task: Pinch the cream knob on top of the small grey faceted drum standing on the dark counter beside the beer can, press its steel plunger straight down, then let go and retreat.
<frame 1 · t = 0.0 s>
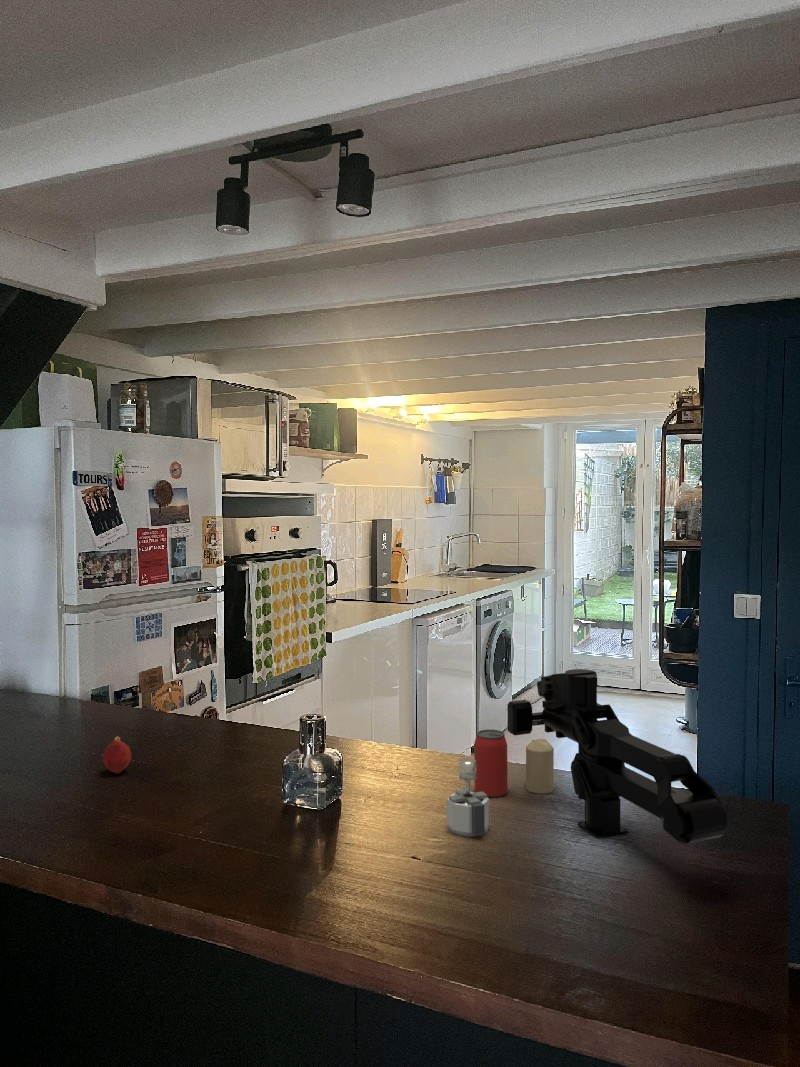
hand: (531, 704, 169), 17 cm above the countertop, tool horizontal, fingers open, 9 cm apart
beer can: (490, 793, 164), on the countertop
grey faceted drum: (468, 828, 146), on the countertop
plunger: (467, 782, 146), point 8 cm above the countertop, slide at 0.0 cm
candle: (539, 790, 166), on the countertop
onion: (117, 774, 178), on the countertop
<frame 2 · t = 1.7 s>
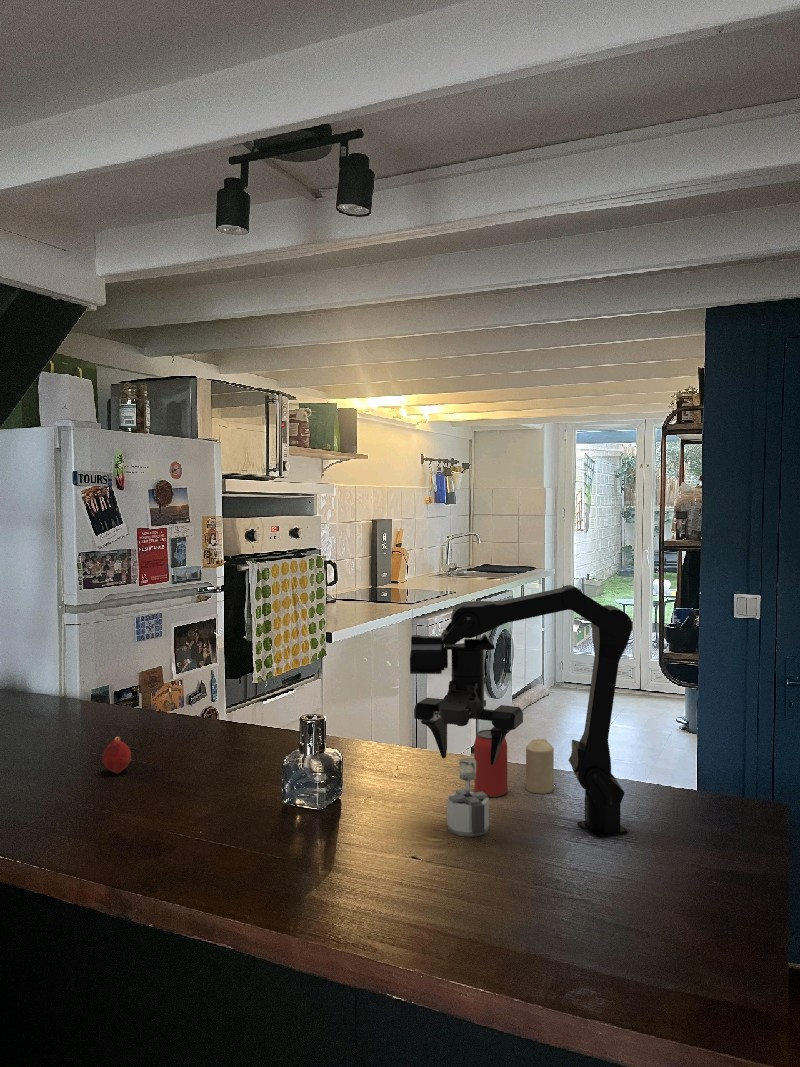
hand: (468, 761, 146), 12 cm above the countertop, tool pointing down, fingers open, 9 cm apart
nothing on the countertop moved.
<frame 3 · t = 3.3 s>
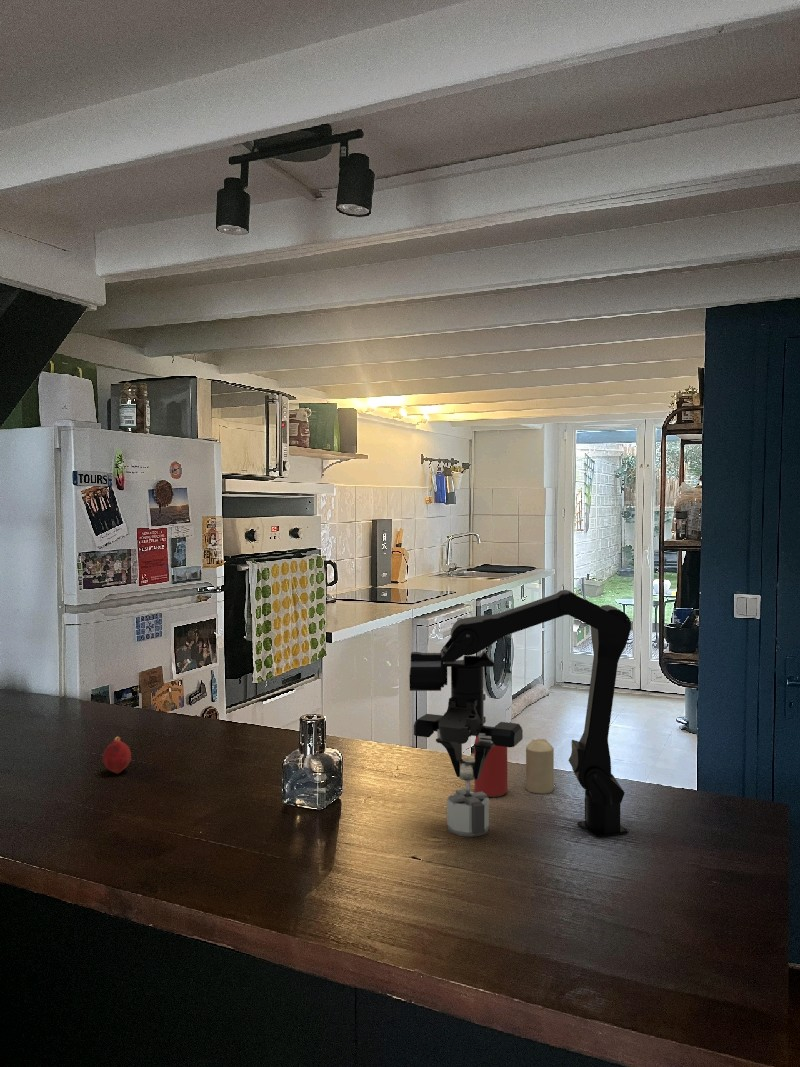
hand: (467, 777, 146), 9 cm above the countertop, tool pointing down, fingers closed on plunger, 3 cm apart
plunger: (467, 782, 146), point 8 cm above the countertop, slide at 0.0 cm, touching gripper
everything else where it was.
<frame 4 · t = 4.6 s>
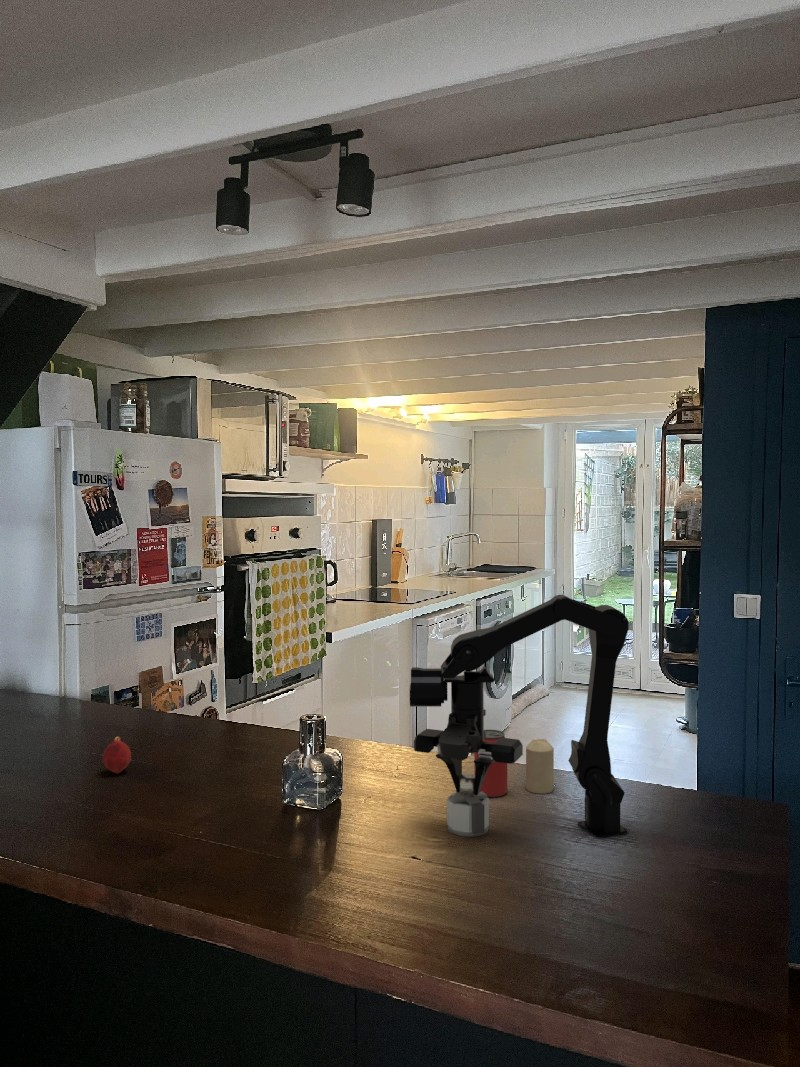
hand: (467, 793, 146), 6 cm above the countertop, tool pointing down, fingers closed on plunger, 3 cm apart
plunger: (467, 798, 146), point 6 cm above the countertop, slide at 2.8 cm, touching gripper
everything else where it was.
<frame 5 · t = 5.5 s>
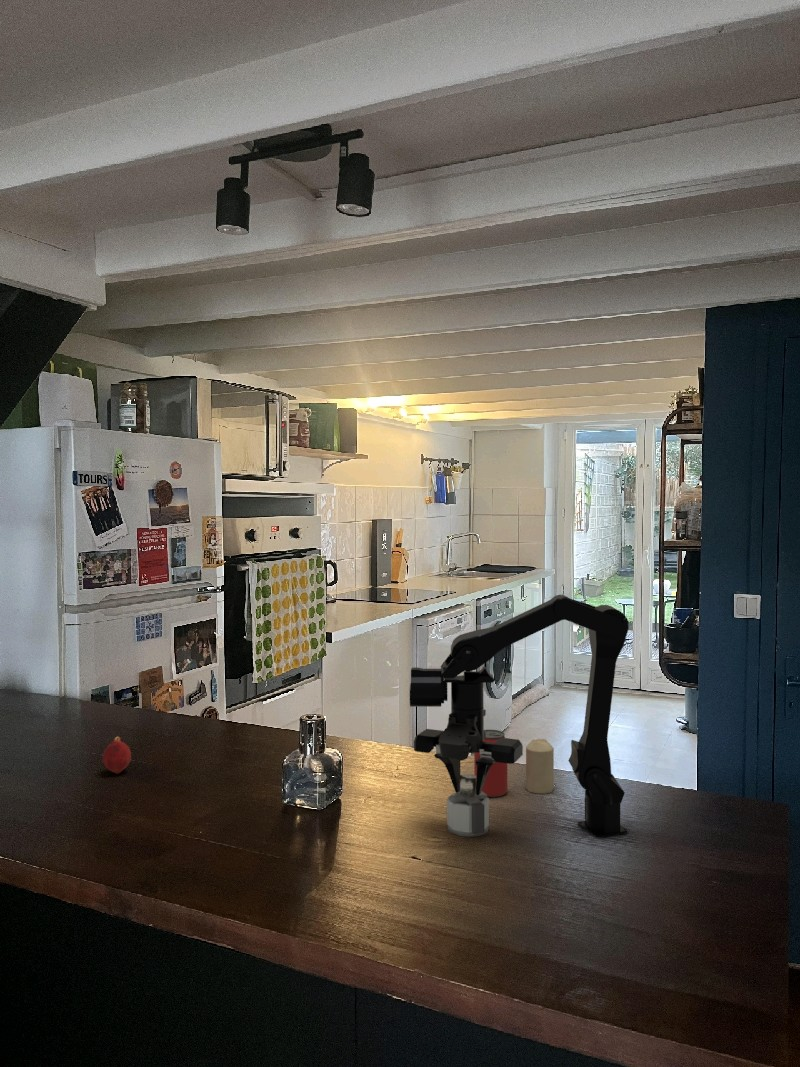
hand: (467, 793, 146), 6 cm above the countertop, tool pointing down, fingers open, 4 cm apart
plunger: (467, 798, 146), point 6 cm above the countertop, slide at 2.8 cm
everything else where it was.
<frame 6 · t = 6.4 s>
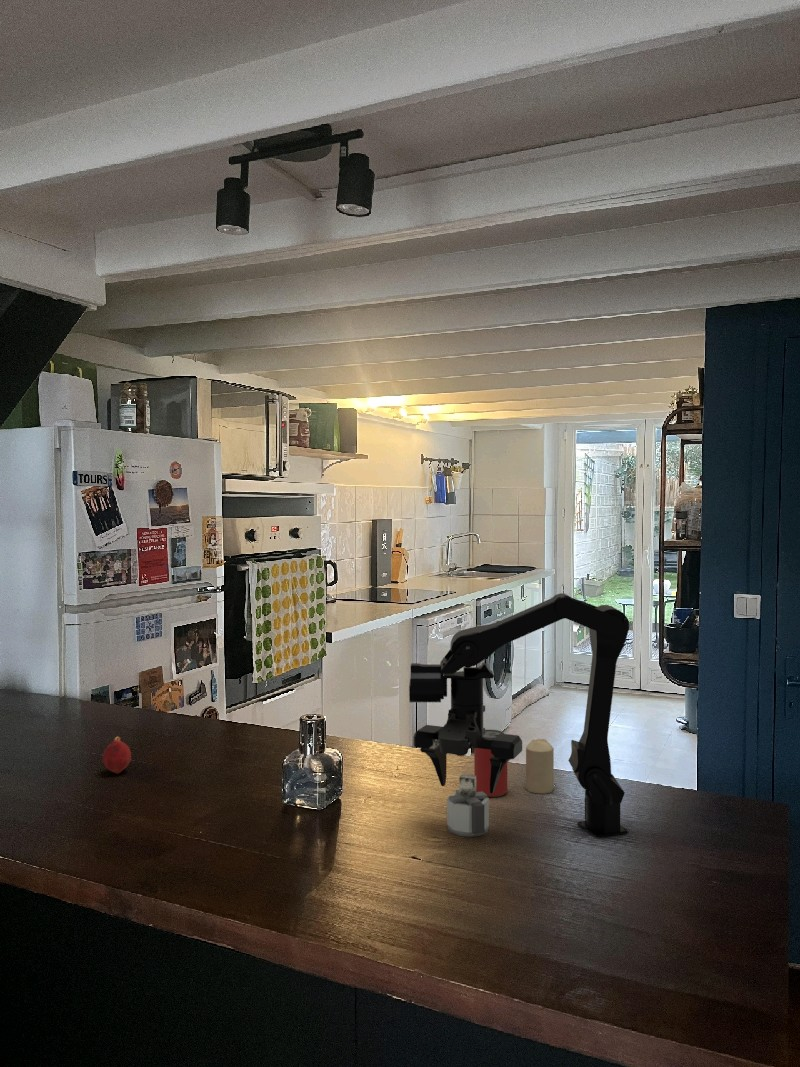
hand: (467, 789, 146), 7 cm above the countertop, tool pointing down, fingers open, 9 cm apart
nothing on the countertop moved.
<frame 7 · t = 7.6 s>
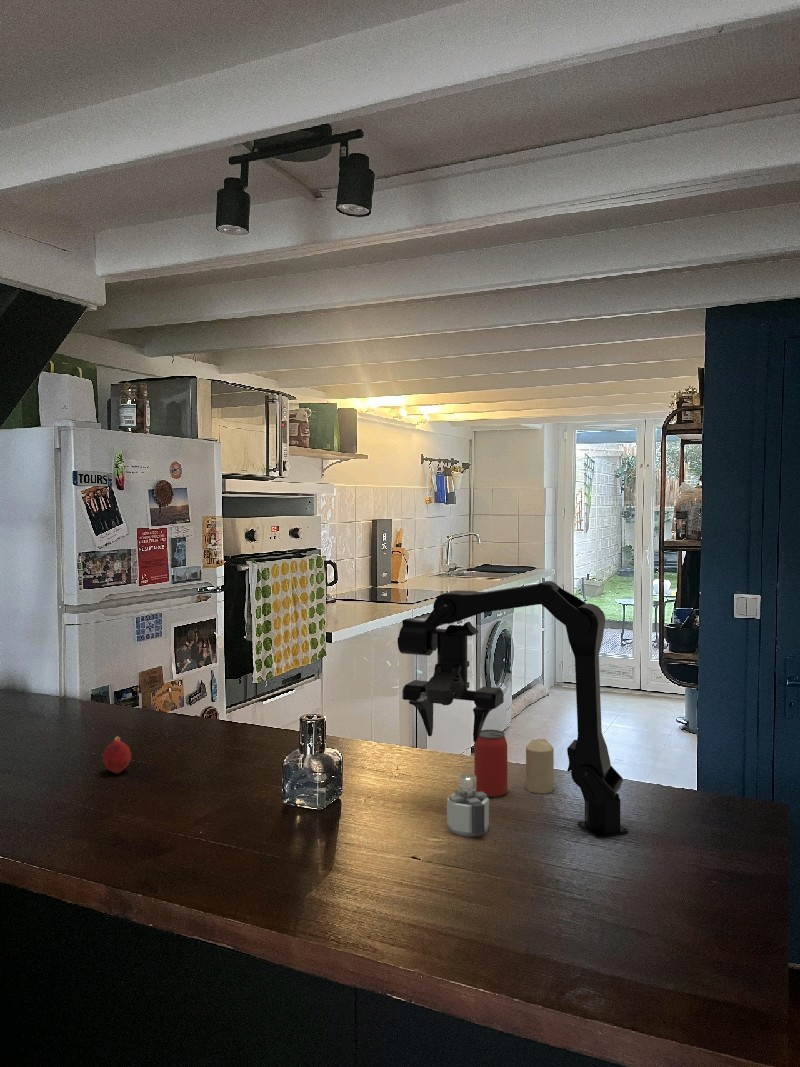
hand: (452, 738, 157), 13 cm above the countertop, tool pointing down, fingers open, 9 cm apart
nothing on the countertop moved.
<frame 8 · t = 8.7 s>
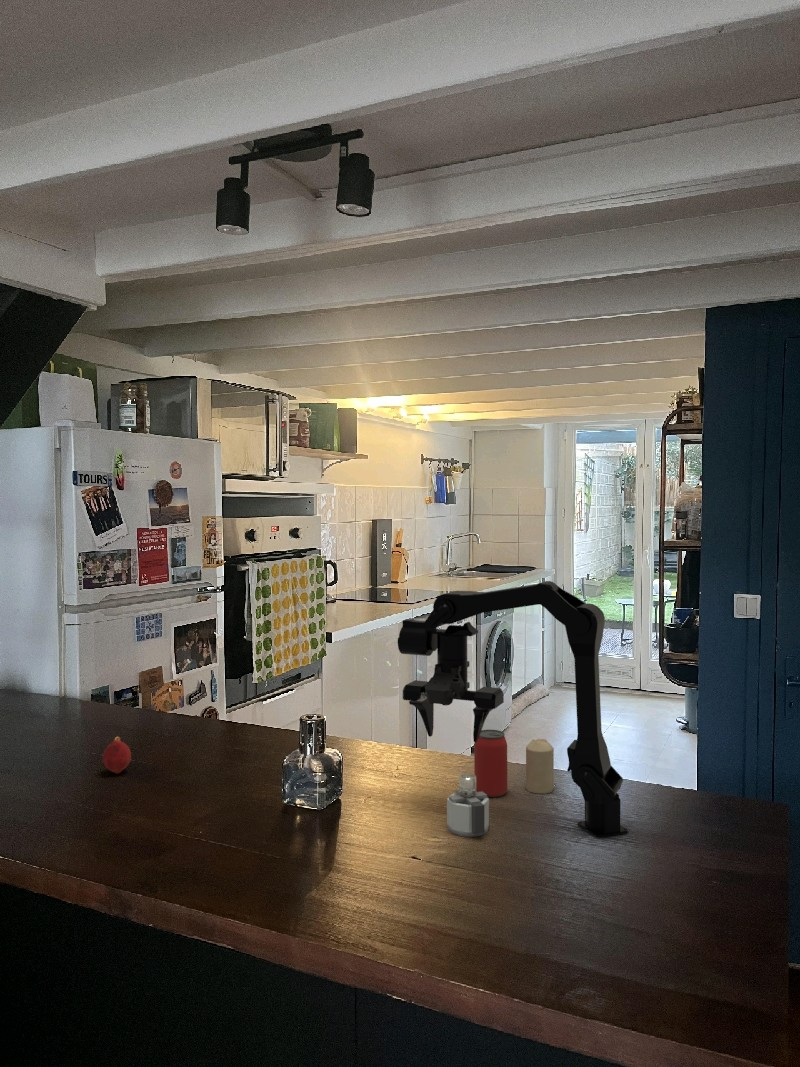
hand: (452, 738, 157), 13 cm above the countertop, tool pointing down, fingers open, 9 cm apart
nothing on the countertop moved.
at the end: plunger slide at 2.8 cm; the gripper is holding nothing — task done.
